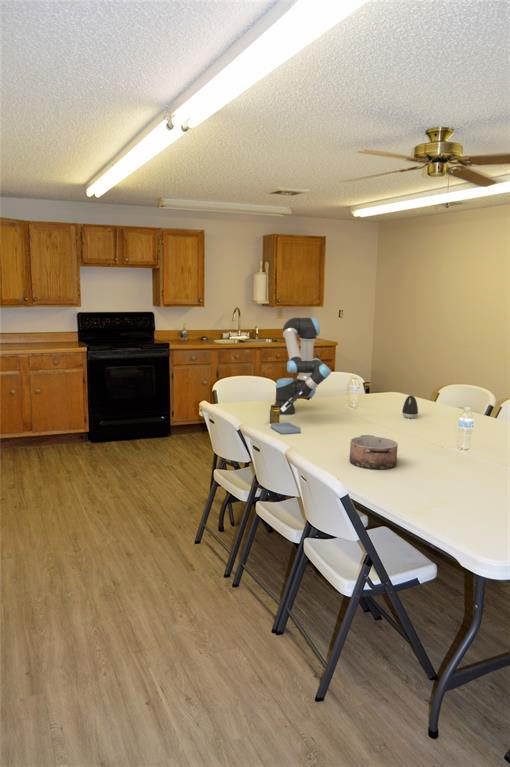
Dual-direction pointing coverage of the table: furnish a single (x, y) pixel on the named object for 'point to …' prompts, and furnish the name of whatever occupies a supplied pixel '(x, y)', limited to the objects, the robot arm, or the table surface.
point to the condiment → (274, 414)
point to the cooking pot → (373, 452)
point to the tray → (285, 428)
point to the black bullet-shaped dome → (410, 407)
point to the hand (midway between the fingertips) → (283, 408)
